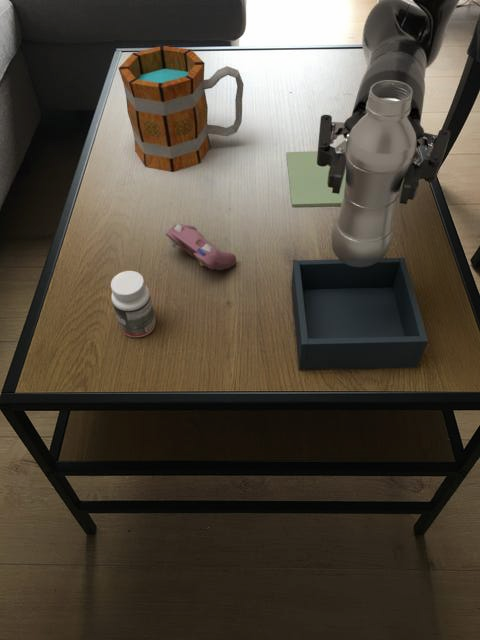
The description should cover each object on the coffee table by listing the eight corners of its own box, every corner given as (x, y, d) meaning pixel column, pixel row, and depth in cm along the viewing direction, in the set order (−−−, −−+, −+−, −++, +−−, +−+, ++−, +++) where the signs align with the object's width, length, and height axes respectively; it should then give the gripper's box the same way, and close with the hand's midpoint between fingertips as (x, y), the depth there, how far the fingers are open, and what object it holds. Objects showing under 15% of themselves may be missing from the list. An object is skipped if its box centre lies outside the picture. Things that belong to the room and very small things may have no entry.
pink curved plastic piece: (176, 252, 82) (154, 232, 76) (195, 229, 82) (174, 206, 76) (221, 285, 78) (202, 266, 71) (241, 260, 78) (223, 239, 71)
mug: (133, 174, 92) (115, 90, 80) (136, 129, 100) (121, 48, 89) (247, 166, 92) (246, 82, 81) (242, 123, 101) (240, 41, 89)
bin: (396, 285, 75) (404, 257, 70) (417, 367, 66) (428, 341, 62) (291, 288, 75) (293, 260, 71) (298, 370, 66) (301, 344, 62)
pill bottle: (117, 316, 73) (103, 274, 66) (151, 306, 73) (140, 263, 67) (125, 343, 70) (111, 301, 63) (160, 332, 71) (150, 290, 64)
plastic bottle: (320, 242, 64) (340, 79, 48) (373, 229, 65) (409, 66, 49) (341, 280, 60) (370, 117, 44) (397, 267, 61) (445, 102, 45)
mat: (377, 152, 94) (378, 149, 94) (392, 204, 85) (393, 201, 85) (286, 154, 94) (286, 151, 94) (291, 207, 86) (292, 204, 85)
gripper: (330, 61, 61) (299, 148, 51) (463, 76, 58) (458, 170, 48) (324, 122, 66) (295, 210, 57) (445, 137, 64) (436, 232, 54)
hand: (370, 191), depth 52 cm, fingers closed on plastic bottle, 6 cm apart
